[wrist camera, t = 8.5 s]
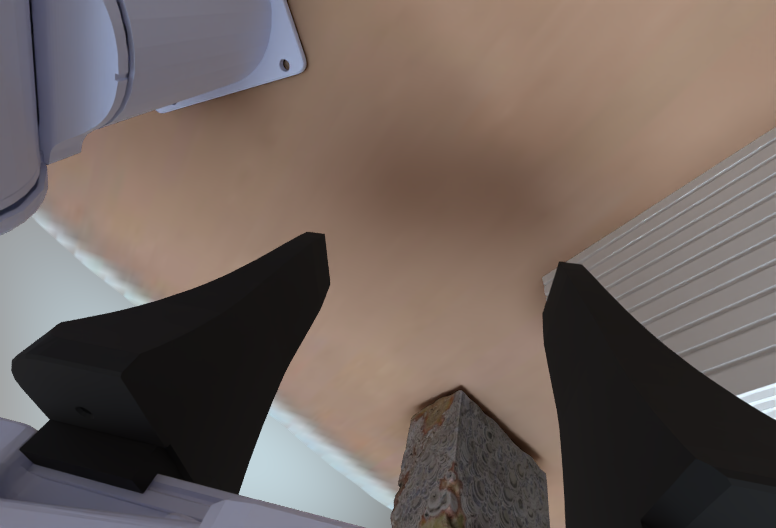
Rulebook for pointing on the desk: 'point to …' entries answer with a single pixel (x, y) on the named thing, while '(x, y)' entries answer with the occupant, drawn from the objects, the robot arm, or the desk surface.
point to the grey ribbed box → (705, 272)
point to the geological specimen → (466, 473)
